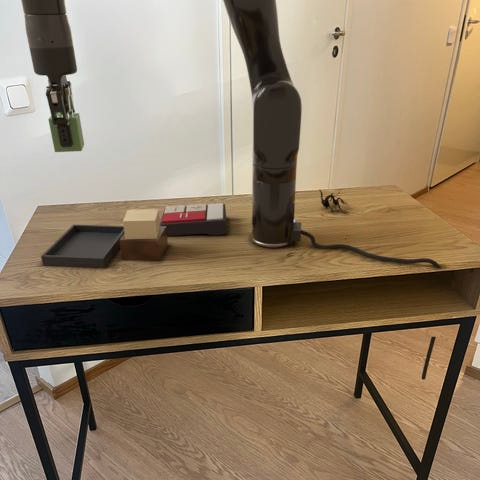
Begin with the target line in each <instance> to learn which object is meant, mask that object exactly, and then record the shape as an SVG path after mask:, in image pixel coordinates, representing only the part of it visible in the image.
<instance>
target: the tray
mask: <svg viewBox="0 0 480 480" xmlns="http://www.w3.org/2000/svg"><path fill="white" fill-rule="evenodd" d="M124 233H125V232H124V225H99V224H98V225H97V224H72V225H71V226H69V228H68V229H67V230H66V231H65V232H64V233H62V235H60V237H59V238H58V239H57V240H55V241H54V243H53V244H52V245H51V246H49V248H48V249H46V251H44V252H43V253H42V254H41V255H40V258H41V262H42V266H50V267H51V266H54V267H74V268H75V267H76V268H99V269H100V268H101V269H104V268H106V267H107V265H108V264H109V263H110V261H111V260H112V259H113V258H114V256H115V255H116V253H117V252H118V251H119V249H121V247H120V241H119V240H120V238H121V237H122V236H123V235H124Z"/></svg>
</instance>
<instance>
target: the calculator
mask: <svg viewBox="0 0 480 480" xmlns="http://www.w3.org/2000/svg"><path fill="white" fill-rule="evenodd" d="M161 215H162V216H161V218H160V226H166V229H167V237H171V236H172V237H173V236H186V235H200V234H207V235H208V236H224V235H227V210H226V203H222V202H219V203H208V204H207V203H195V204H194V203H193V204H187V205H185V204H178V205H167V206H165V207H164V209H163V212H162V214H161Z"/></svg>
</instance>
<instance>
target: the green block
mask: <svg viewBox="0 0 480 480" xmlns="http://www.w3.org/2000/svg"><path fill="white" fill-rule="evenodd" d="M60 117H63V115H62V114H59V113H58V118H60ZM69 121H70V130H71V136H72V142H73V145H72V147H62V146H61V145H60V140H59V134H58V129H57V127H56V125H54V124H53V122H52V116H51V115H50V117H48V124H49V129H50V134H51V140H52V145H53V149H54V152H55V153H66V152H68V153H70V152H82V151H83V148H84V146H85V140H84V134H83V129H82V123H81V117H80V113H79V112H77V113H76V112H75V113H71V114H69Z"/></svg>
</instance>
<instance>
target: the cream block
mask: <svg viewBox="0 0 480 480" xmlns="http://www.w3.org/2000/svg"><path fill="white" fill-rule="evenodd" d="M160 222H161V218H160V210H159V208H149V209H145V208H144V209H142V208H141V209H127V211H126V213H125V216H124V218H123V220H122V224H123V225H122V226H124V232H125V239H157V237H158V233H159V230H160Z"/></svg>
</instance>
